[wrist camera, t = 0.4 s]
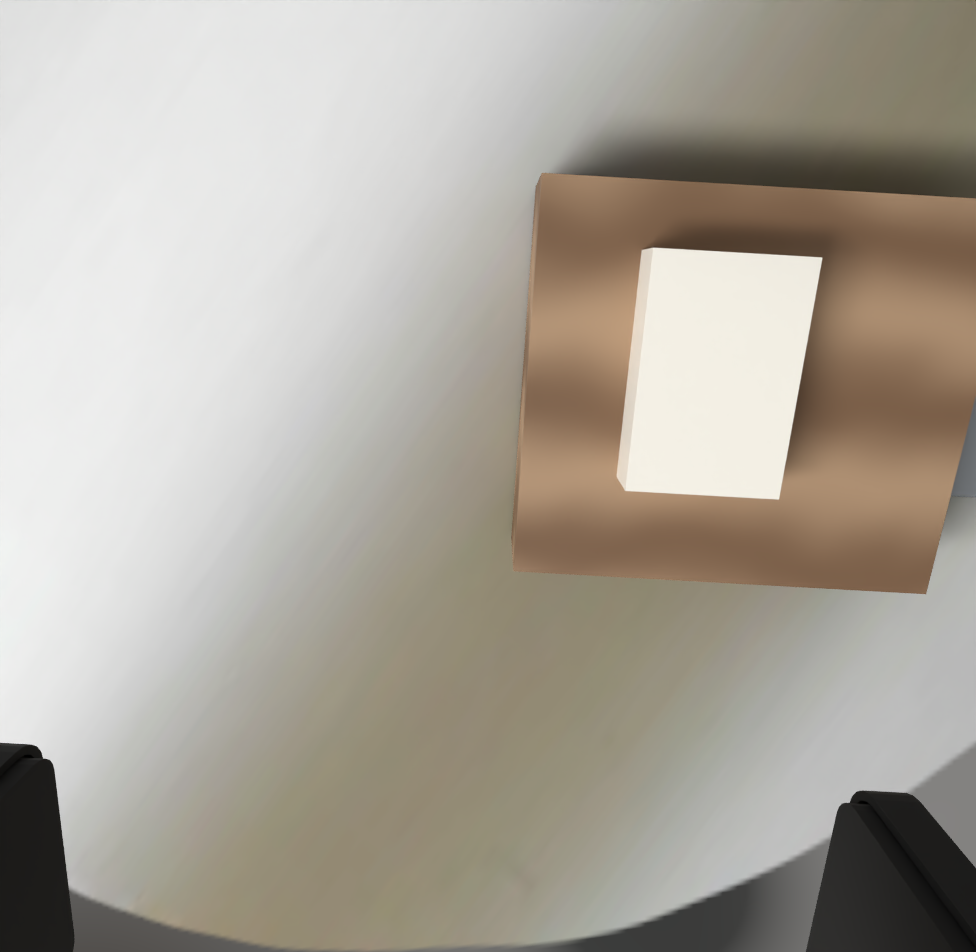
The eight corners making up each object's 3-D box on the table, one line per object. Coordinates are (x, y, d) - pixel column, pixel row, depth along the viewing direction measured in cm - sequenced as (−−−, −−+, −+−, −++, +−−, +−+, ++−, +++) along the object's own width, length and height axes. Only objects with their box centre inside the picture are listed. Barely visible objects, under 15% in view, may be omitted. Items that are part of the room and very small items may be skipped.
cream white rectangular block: (641, 249, 26) (653, 247, 24) (798, 259, 26) (822, 257, 24) (616, 476, 29) (625, 490, 27) (759, 484, 29) (778, 499, 27)
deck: (535, 186, 29) (541, 172, 26) (955, 211, 29) (1024, 201, 26) (511, 538, 34) (513, 571, 30) (877, 558, 34) (925, 593, 30)
